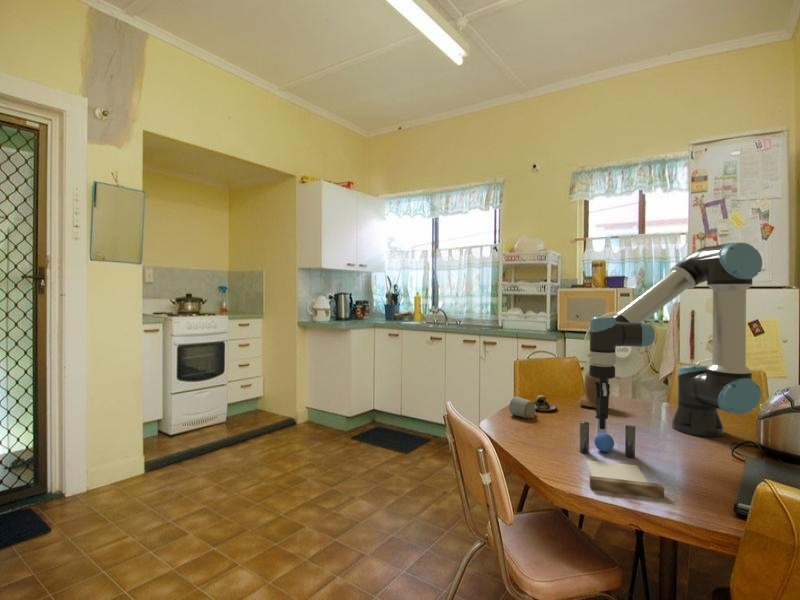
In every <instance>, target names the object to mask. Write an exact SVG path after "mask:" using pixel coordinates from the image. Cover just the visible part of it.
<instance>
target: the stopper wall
mask: <svg viewBox="0 0 800 600" xmlns="http://www.w3.org/2000/svg"><path fill="white" fill-rule="evenodd" d="M589 488H590V490H594V491H603V492H609V493H617V494H618V493H619V494H628V495H633V496H634V495H636V496H643V497H653V498H659V499H660V498H661V499H665V487H664V485H663V484H662V483H655V482H648V481H647V482H639V481H630V480H621V479H613V478H604V477H595V476H592V475H589Z"/></svg>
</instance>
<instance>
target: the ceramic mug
mask: <svg viewBox="0 0 800 600" xmlns="http://www.w3.org/2000/svg"><path fill="white" fill-rule="evenodd" d="M508 407H509V413H510V414H511V415H513V416H516V417H520V418H523V419H531V418H532V417H533V416H536V413H537V411H536V410H535V405H534V403H533V401H531V400H529V399H525V398H523V397H520V396H518V395H517V396H514V397H512V398H511V400H510V403H509V406H508Z"/></svg>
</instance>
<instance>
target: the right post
mask: <svg viewBox="0 0 800 600" xmlns="http://www.w3.org/2000/svg"><path fill="white" fill-rule="evenodd" d="M624 428H625V429H624V430H625V432H624V433H625V435H624V436H625V437H624V438H625V439H624V440H625V441H624V442H625V443H624V446H625V447H624V453H625V455H624V456H625V457H626V458H629V459H635V458H636V426H635V425H632V424H625V427H624Z"/></svg>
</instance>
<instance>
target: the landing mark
mask: <svg viewBox="0 0 800 600" xmlns="http://www.w3.org/2000/svg"><path fill="white" fill-rule="evenodd" d="M586 462H587V465H589V466H588V468H589V471H590V474H591V476H595V477H604V478H613V479H621V480H630V481H639V482H648V480H647V479H646V477H645V476H644V473H643V472H642V471H641V469H640V468H639V466H638V465H637V464H636V465H635V464H628V463H627V464H625V463H615V462H607V461H598V460H586Z"/></svg>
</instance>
